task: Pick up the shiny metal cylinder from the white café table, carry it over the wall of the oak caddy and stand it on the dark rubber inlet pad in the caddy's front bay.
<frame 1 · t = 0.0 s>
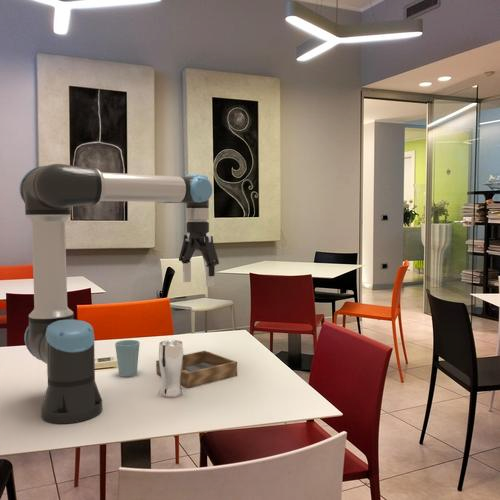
hand: (198, 284, 175), 28 cm above the table, fingers open, 13 cm apart
caddy: (196, 374, 166), on the table
shiny metal cylinder: (171, 394, 148), on the table
cup: (128, 375, 167), on the table
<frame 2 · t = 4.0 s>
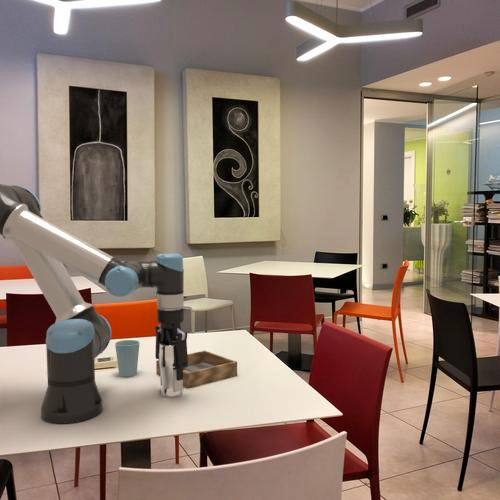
hand: (171, 387, 148), 2 cm above the table, fingers closed on shiny metal cylinder, 6 cm apart
shiny metal cylinder: (171, 394, 148), on the table, touching gripper
everything else where it was.
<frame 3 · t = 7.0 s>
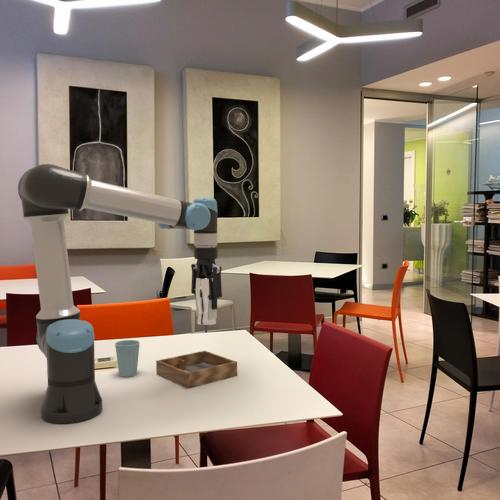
hand: (206, 317, 167), 18 cm above the table, fingers closed on shiny metal cylinder, 6 cm apart
shiny metal cylinder: (206, 323, 167), point 16 cm above the table, touching gripper
everything else where it was.
when the fingers open (4 cm above the table, at t = 10.2 s): shiny metal cylinder drops 2 cm, resting on caddy.
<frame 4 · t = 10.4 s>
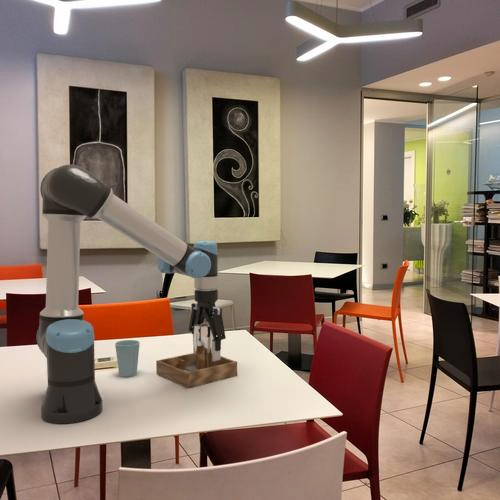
hand: (206, 356, 168), 5 cm above the table, fingers open, 10 cm apart
shiny metal cylinder: (204, 370, 169), point 1 cm above the table, touching caddy
everything else where it was.
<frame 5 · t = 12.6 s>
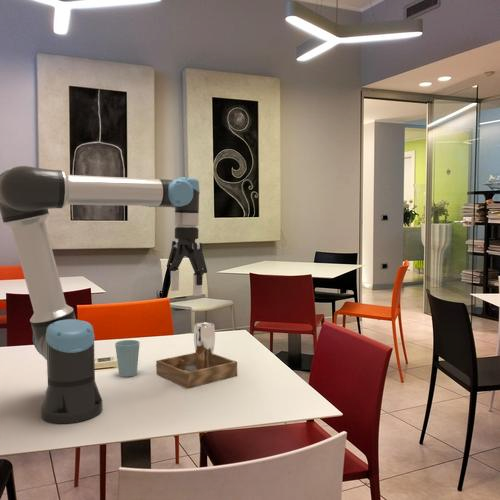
hand: (185, 293, 165), 26 cm above the table, fingers open, 13 cm apart
nothing on the table moved.
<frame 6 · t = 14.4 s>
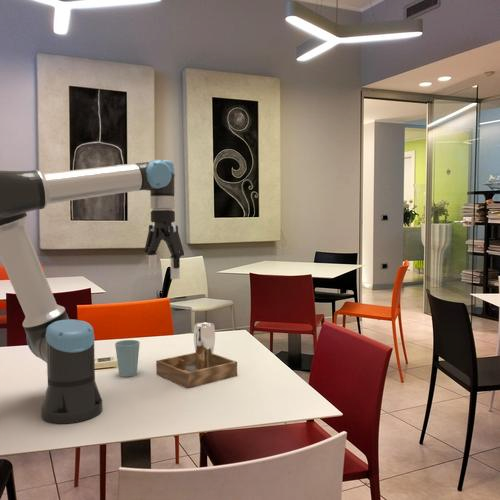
hand: (163, 276, 164), 32 cm above the table, fingers open, 13 cm apart
nothing on the table moved.
at the end: shiny metal cylinder inside the target area on the caddy (1.0 cm from its centre), point 0.5 cm above the caddy's base; shiny metal cylinder tilted 0°; the gripper is holding nothing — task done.
